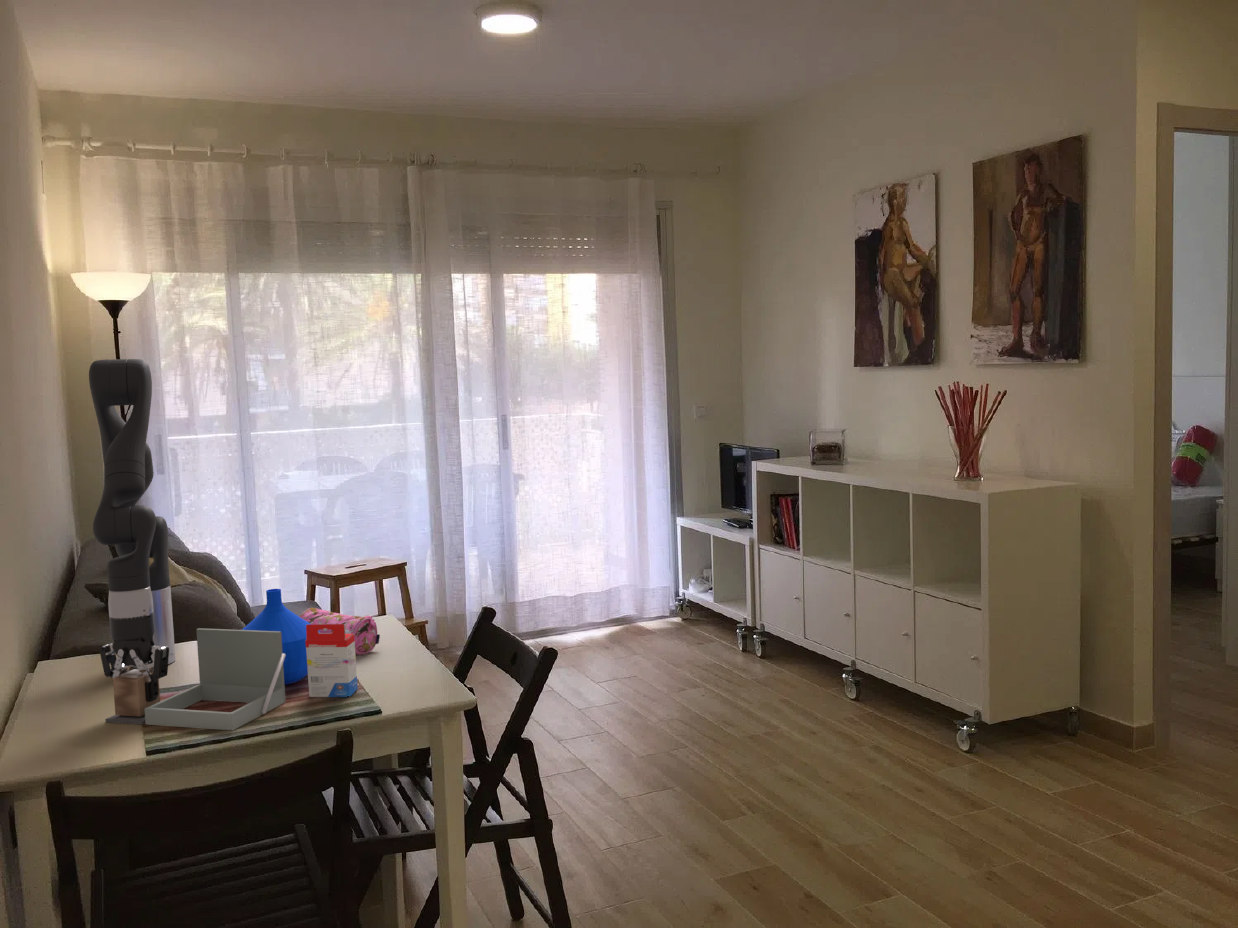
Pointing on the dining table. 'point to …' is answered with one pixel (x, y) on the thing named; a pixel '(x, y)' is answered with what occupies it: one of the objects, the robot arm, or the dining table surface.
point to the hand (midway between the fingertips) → (137, 699)
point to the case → (228, 680)
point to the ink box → (330, 661)
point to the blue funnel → (284, 634)
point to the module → (131, 694)
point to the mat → (126, 719)
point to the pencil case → (347, 627)
